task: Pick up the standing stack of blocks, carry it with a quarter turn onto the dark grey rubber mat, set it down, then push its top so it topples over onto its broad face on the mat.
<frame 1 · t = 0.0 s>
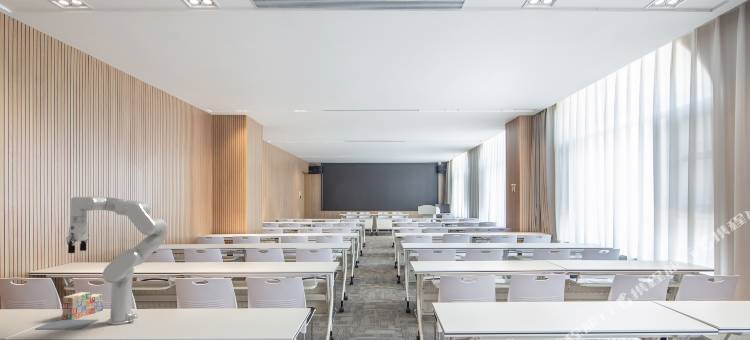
hand: (77, 251, 242), 37 cm above the table, tool pointing down, fingers open, 9 cm apart
stack of blocks: (83, 315, 254), on the table
mat: (67, 324, 234), on the table
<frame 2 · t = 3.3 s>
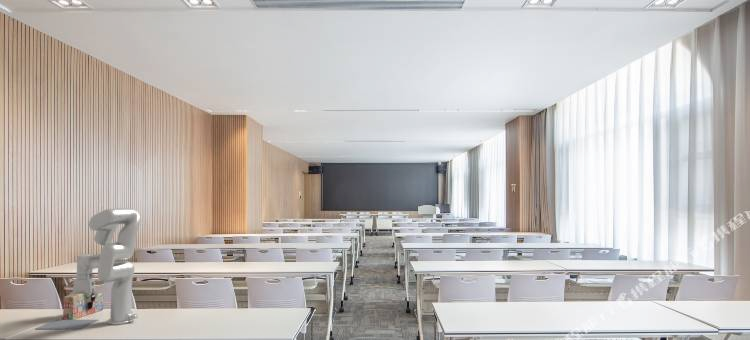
hand: (83, 308, 254), 3 cm above the table, tool pointing down, fingers closed on stack of blocks, 7 cm apart
stack of blocks: (83, 314, 254), on the table, touching gripper
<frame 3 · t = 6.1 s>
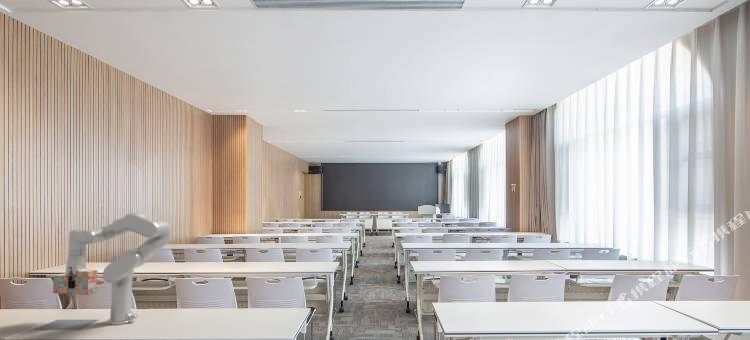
hand: (75, 286, 241), 18 cm above the table, tool pointing down, fingers closed on stack of blocks, 7 cm apart
stack of blocks: (74, 293, 241), point 15 cm above the table, touching gripper
when the fingers open (4 cm above the table, at t = 9.0 s): stack of blocks stays where it is, resting on mat.
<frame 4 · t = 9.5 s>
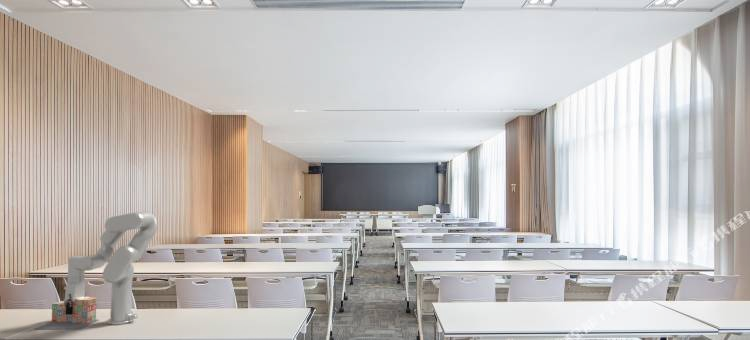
hand: (74, 311, 240), 5 cm above the table, tool pointing down, fingers open, 9 cm apart
stack of blocks: (73, 321, 240), resting on mat
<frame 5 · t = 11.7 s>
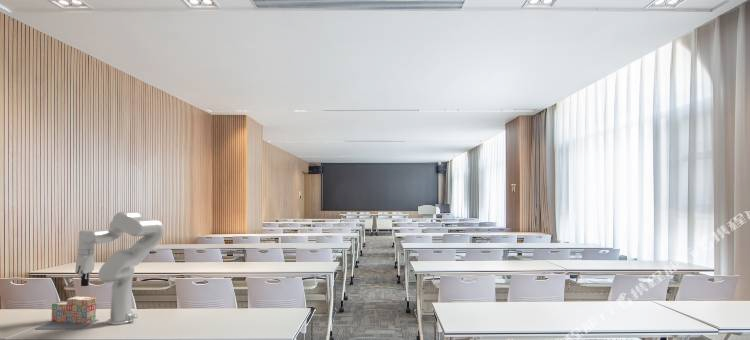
hand: (84, 285, 249), 17 cm above the table, tool pointing down, fingers closed
nothing on the table moved.
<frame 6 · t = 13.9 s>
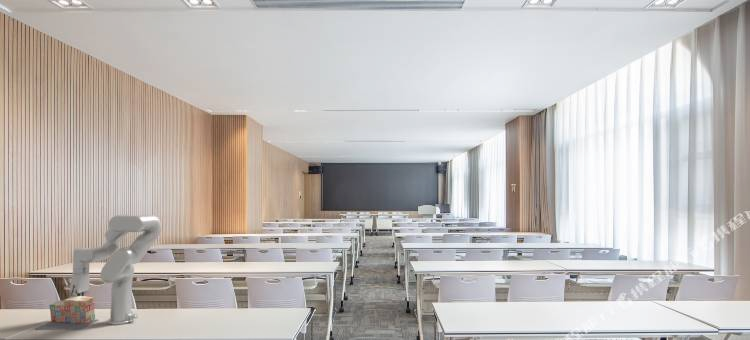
hand: (79, 305, 244), 8 cm above the table, tool pointing down, fingers closed
stack of blocks: (73, 320, 239), point 1 cm above the table, touching gripper, mat
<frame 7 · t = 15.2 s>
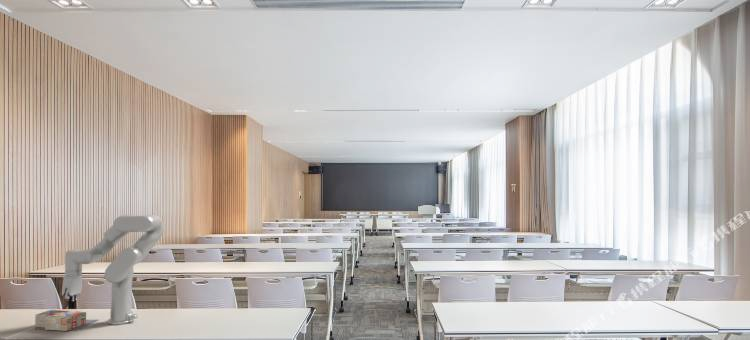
hand: (72, 308, 238), 8 cm above the table, tool pointing down, fingers closed
stack of blocks: (68, 316, 237), point 4 cm above the table, touching mat
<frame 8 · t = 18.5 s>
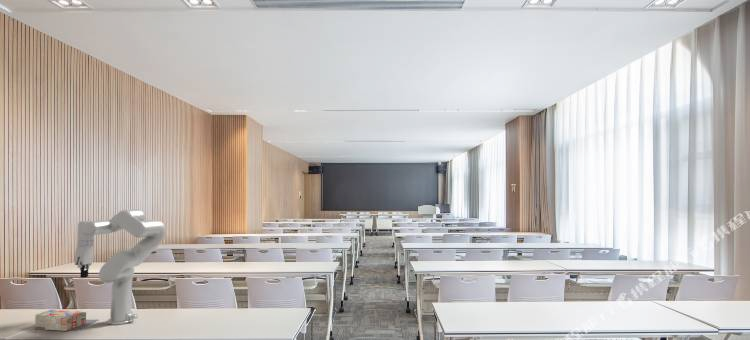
hand: (84, 277, 248), 22 cm above the table, tool pointing down, fingers closed
nothing on the table moved.
at the end: stack of blocks tilted 90°; stack of blocks inside the target area (3.2 cm from its centre), point 3.6 cm above the table; the gripper is holding nothing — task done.
